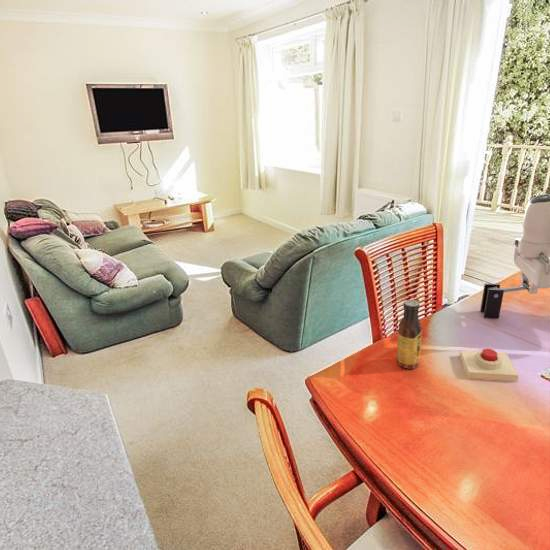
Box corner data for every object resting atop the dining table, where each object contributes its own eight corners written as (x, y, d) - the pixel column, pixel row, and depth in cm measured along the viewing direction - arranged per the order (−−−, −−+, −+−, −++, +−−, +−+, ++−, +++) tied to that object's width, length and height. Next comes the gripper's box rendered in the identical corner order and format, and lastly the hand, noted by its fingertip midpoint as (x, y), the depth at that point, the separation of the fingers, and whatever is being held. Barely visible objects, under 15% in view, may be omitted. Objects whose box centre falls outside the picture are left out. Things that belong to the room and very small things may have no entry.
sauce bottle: (420, 371, 105) (426, 309, 97) (397, 370, 107) (401, 309, 99) (417, 356, 111) (422, 297, 103) (395, 356, 113) (398, 297, 104)
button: (494, 354, 104) (495, 349, 103) (498, 362, 101) (499, 356, 100) (479, 353, 105) (480, 348, 104) (483, 361, 102) (484, 356, 101)
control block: (504, 358, 107) (507, 347, 106) (517, 381, 98) (520, 369, 97) (459, 356, 110) (461, 344, 108) (467, 378, 101) (469, 366, 100)
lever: (527, 286, 123) (527, 279, 122) (533, 293, 118) (533, 286, 117) (486, 292, 126) (486, 285, 125) (491, 299, 122) (490, 292, 121)
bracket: (503, 311, 130) (509, 281, 125) (513, 325, 122) (519, 293, 117) (466, 310, 133) (470, 280, 128) (472, 324, 125) (477, 292, 120)
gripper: (563, 260, 105) (554, 303, 110) (534, 237, 123) (527, 275, 129) (538, 261, 106) (529, 303, 112) (512, 237, 124) (506, 275, 130)
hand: (528, 288), depth 120 cm, fingers closed on lever, 5 cm apart
